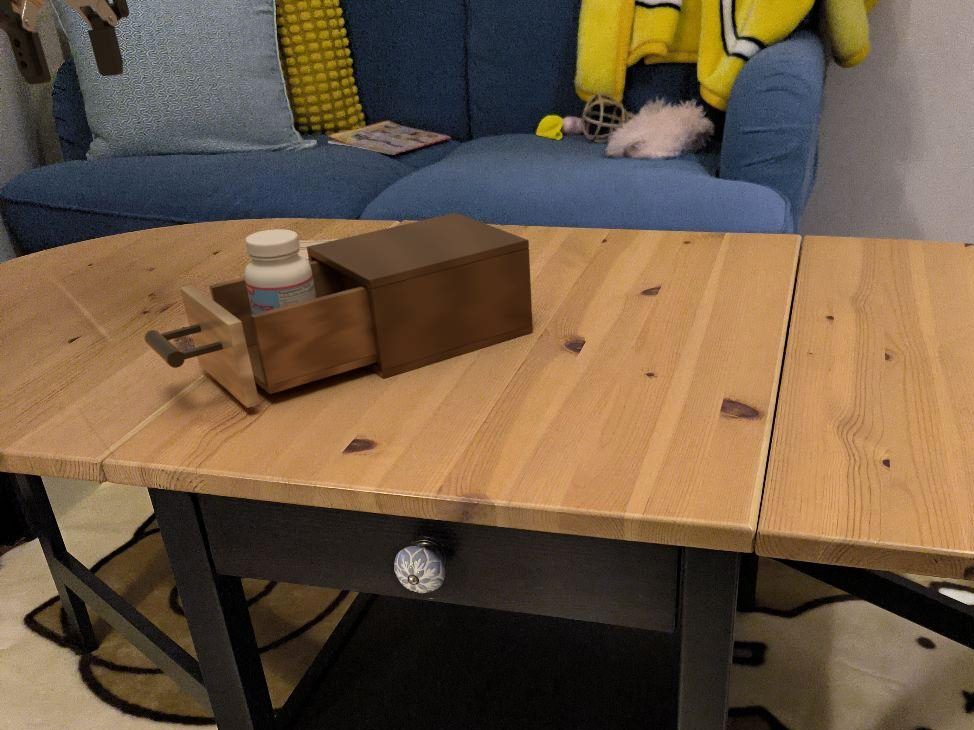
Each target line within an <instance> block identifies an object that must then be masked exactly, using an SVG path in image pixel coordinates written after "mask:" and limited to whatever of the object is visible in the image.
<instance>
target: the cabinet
mask: <svg viewBox="0 0 974 730" xmlns="http://www.w3.org/2000/svg"><path fill="white" fill-rule="evenodd" d="M337 239H338V240H334V241H330V242H325V243H321V244H316V245H312V246H308V247H307V252H308V258H309V262H311V261H315V260H319V261H321V262H323V263H325V264H327V265H328V266H330V267H332V268H334V269H336V270H338V271H339V272H341V273H343V274H345V275H347V276H349V277H350V278H352V279H354V280H356V281H358V282H360V283H361V284H363V285H365V286H367V290H368V297H369V304H370V311H371V318H372V325H373V332H374V339H375V346H376V353H377V360H378V362H376V363H372V364H369V365H366V366H364V367H366V368H367V369H368V370H370V371H371V372H373V373H374V374H376V375H377V376H379V377H380V378H382V379H386V378H390V377H393V376H396V375H400V374H403V373H406V372H410V371H412V370H415V369H418V368H419V369H420V368H422V367H426V366H429V365H432V364H435V363H438V362H441V361H442V362H443V361H444V360H448V359H451V358H454V357H458V356H461V355H464V354H467V353H470V352H474V351H477V350H480V349H484V348H487V347H490V346H494V345H496V344H497V345H498V344H500V343H503V342H506V341H509V340H512V339H515V338H518V337H522V336H526V335H529V334H532V333H533V332H534V326H533V305H532V304H533V303H532V285H531V283H532V282H531V262H530V259H531V258H530V241H529V239H526V238H525V237H521V236H520V235H516V234H513V233H511V232H508V231H505V230H503V229H501V228H497V227H496V226H492V225H490V224H487V223H485V222H482V221H480V220H477V219H475V218H471V217H469V216H466V215H463V214H461V213H458V212H452V213H449V214H444V215H440V216H436V217H431V218H426V219H422V220H417V221H413V222H409V223H404V224H399V225H396V226H391V227H386V228H383V229H378V230H374V231H370V232H365V233H360V234H356V235H353V236H352V235H351V236H347V237H343V238H337Z"/></svg>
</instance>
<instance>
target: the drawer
mask: <svg viewBox="0 0 974 730" xmlns="http://www.w3.org/2000/svg"><path fill="white" fill-rule="evenodd" d="M308 263H309V264H310V266H311V270H312V275H313V281H314V287H315V292H316V298H315V299H311V300H307V301H303V302H300V303H296V304H292V305H288V306H284V307H280V308H276V309H272V310H268V311H264V312H261V313H257V314H253V315H252V311H251V306H250V301H249V296H248V291H247V287H246V282H245V276H243V277H239V278H235V279H231V280H227V281H222V282H217V283H214V284H210V285H209V286H208V288H209V291H210V296H211V298H210V297H209V296H208V295H207V294H205V293H204V292H203V291H201V290H200V289H199V288H197V287H196V286H194V285H193V284H189V285H185V286H181V287H179V290H180V294H181V297H182V302H183V305H184V310H185V314H186V317H187V321H188V325H189V326H185V327H182V328H176V329H173V330H169V331H165V332H159V331H158V330H156V329H152V330H151V329H150V330H148V331H147V332H146V333H145V334H144V342H145V344H146V345H147V346H148V347H150V348H151V350H153V352H155V353H156V354H157V355H158V356H159V358H161V359H162V360H163V361H164V362H165V363H166V364H167V365H169V366H170V367H171V368H174V369H177V368H180V367H182V366H183V365H184V363H185V361H186V360H189V359H192V358H196V357H197V361H198V365H199V367H201V368H202V369H203V370H204V371H205V372H207V373H208V374H209V376H211V377H212V378H213V379H214V380H215V381H216V382H218V383H219V384H220V386H222V387H223V388H224V389H226V390H227V392H229V393H230V394H231V395H232V396H233V397H234V398H236V400H238V402H240V403H241V404H242V405H243V406H244V407H246V408H247V409H249V408H253V407H256V406H258V405H260V404H261V403H260V398H259V394H258V390H257V385H258V386H260V387H261V388H262V389H263V390H264V391H266V393H268V394H269V395H272V394H276V393H279V392H282V391H285V390H289V389H293V388H295V387H299V386H303V385H306V384H308V383H312V382H316V381H319V380H322V379H325V378H328V377H329V378H330V377H332V376H335V375H339V374H342V373H345V372H349V371H352V370H355V369H359V368H362V367H365V366H366V365H369V364H372V363H376V362H378V360H377V353H376V346H375V339H374V332H373V325H372V318H371V311H370V304H369V297H368V290H367V286H365V285H363V284H361V283H360V282H358V281H356V280H354V279H352V278H350V277H349V276H347V275H345V274H343V273H341V272H339V271H338V270H336V269H334V268H332V267H330V266H328V265H327V264H325V263H323V262H321V261H319V260H315V261H311V262H308ZM190 335H191V337H192V341H193V346H194V347H193V348H190V349H186V350H182V351H181V350H179V349H178V347H176V346H175V345H174V344H173V343H172V342H170V341H171V340H175V339H179V338H182V337H186V336H190ZM256 384H257V385H256Z"/></svg>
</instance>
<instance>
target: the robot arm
mask: <svg viewBox="0 0 974 730" xmlns="http://www.w3.org/2000/svg"><path fill="white" fill-rule="evenodd" d="M63 1H64V2H65V4H66V5H67V6H68V7H69V8H71V9H74V10H75V11H77V14H79V16H80V17H81V18H82V20H83V21H84V22H85V23H86V25H87V26H88V27H89V28H90V29H88V30H87V34H88V37H89V41H90V44H91V48H92V52H93V56H94V59H95V63H96V67H97V70H98V73H99V75H101V76H102V77H110V76H119V75H120V76H121V75H123V73H124V64H123V63H124V60H123V56H122V52H121V48H120V44H119V41H118V36H117V32H116V26H117V24H118V22H119V21H121V20H122V19H125V18H128V17H129V16H130V9H129V5H128V2H127V0H112V2H111V3H110V0H63ZM45 3H46V0H0V29H1V30H2V31H3V32H4V33H5V34H6V35H7V37H8V40H9V42H10V46H11V50H12V53H13V56H14V59H15V63H16V66H17V68H18V72H19V74H20V75H21V76H22V78H24V81H25V82H26V84H28V85H40V84H49V83H51V81H52V76H51V71H50V69H49V65H48V61H47V59H46V55H45V52H44V48H43V45H42V41H41V38H40V34H39V32H38V31H36V32H33V31H34V30H35V28H36V23H37V19H38V14H39V10H40V8H42V7H43V6H44V5H45Z"/></svg>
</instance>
